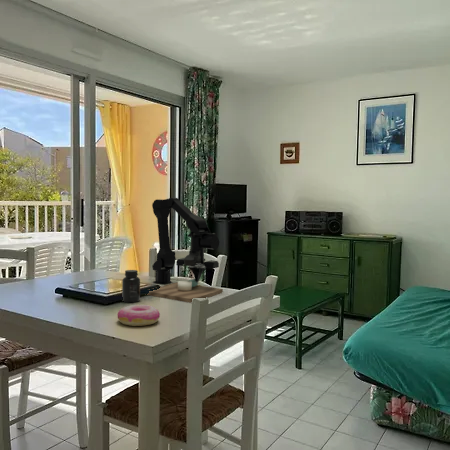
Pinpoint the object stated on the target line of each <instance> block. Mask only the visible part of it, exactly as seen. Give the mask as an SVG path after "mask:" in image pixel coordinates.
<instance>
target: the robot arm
mask: <svg viewBox="0 0 450 450" xmlns="http://www.w3.org/2000/svg"><path fill="white" fill-rule="evenodd" d="M151 206H152V211H153V214H154V216H155V217H156V219H157V221H156V222H157V230H158V231H157V232H158V244H159V245H158V246H159V250H158V252H157V254H156V261H154V263H153V264H152V266H151V267H152V270H153V271H155V279H154V280H153V282H152V283H153V284H160V285H168V284H172V283H173V281H172V280H171V270H173V269H174V266H175V265H176V266H179V267H183V266H184V267H187V268H188V269H189V270H190V271H191V273H192V274H193V276H194V279H195V280H196V283H198V284H199V282H200V279H201V277H202V274H203V273H204V271H205V270H206V269H210V270H211V269H217V268H220V263H219V261H218V260H206V258H205V253H206V249H207V250H217V249H218V248H219V246H220V240H219V238H218V236H217V233H215V232H213V233H212V232H211V230H210V227H209V226H208V224H207V221H206V219H204V218H202V217H200V216H198V215H197V214H195V213H193V212H192V211H191V210H190V209H189V208H188V206H186V205H185V204H184V203H183V202H182V201H181V200H180V198H178V197H169V198H166V199H161V198H159V199H158V198H157V199H155V200H153V202H152V204H151ZM171 209H173V210H174V211H175V213H177V214H178V215H179V216H180V217H181V218H182V219H183V221H185V223H186V224H185V225H186V226H187V228H188V229H189V231H190V233H188V234H187V237H188V238H190V240H191V241H190V242H191V243H190V249H189V253H188V254H187V255H186V256H185V257H182V258H178V259H177V258H176V251H173V250H172V248H171V240H170V227H169V217H170V214H171V212H172V211H171Z"/></svg>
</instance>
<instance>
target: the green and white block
mask: <svg viewBox="0 0 450 450" xmlns="http://www.w3.org/2000/svg"><path fill="white" fill-rule="evenodd" d="M177 282H178V290H181V291H189V290H192V287H194V286H197V285H199V282H198V283H196V280H195V278H192V279H189V280H178V281H177Z"/></svg>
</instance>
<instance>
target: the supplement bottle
mask: <svg viewBox="0 0 450 450" xmlns="http://www.w3.org/2000/svg"><path fill="white" fill-rule="evenodd" d="M138 273H139V272H138V270H137V269H127V270H125V271H124V276H125V277H123V278H122V282H121V284H122V288H121V291H122V294H121V295H122V297H123V300H122V302H123V301H124V303H127V304H128V303H130V304H131V303H138V302H140V300H141V279H140V277H138Z"/></svg>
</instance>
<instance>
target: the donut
mask: <svg viewBox="0 0 450 450" xmlns="http://www.w3.org/2000/svg"><path fill="white" fill-rule="evenodd" d="M160 315H161V314H160V311H159V309H157V308H156V307H155V306H152V305H147V304H132V305H128V306H123V307H122V308H120V309H119V310H118V312H117V319H118V321H119V322H120V323H121V324H123V325H124V326H130V327H143V326H144V327H145V326H149V325H153V324H155V323H157V322H159V319H160Z"/></svg>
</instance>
